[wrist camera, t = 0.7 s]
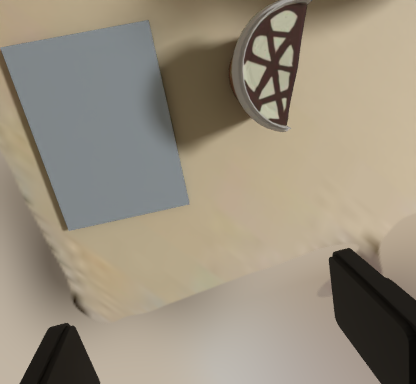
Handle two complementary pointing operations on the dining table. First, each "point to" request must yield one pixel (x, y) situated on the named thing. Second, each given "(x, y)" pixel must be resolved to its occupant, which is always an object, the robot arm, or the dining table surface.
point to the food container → (269, 62)
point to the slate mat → (100, 122)
